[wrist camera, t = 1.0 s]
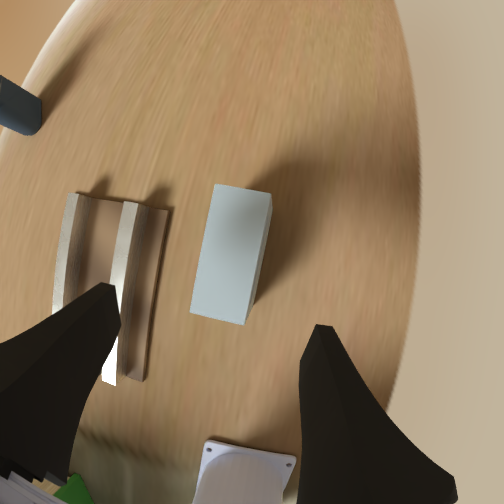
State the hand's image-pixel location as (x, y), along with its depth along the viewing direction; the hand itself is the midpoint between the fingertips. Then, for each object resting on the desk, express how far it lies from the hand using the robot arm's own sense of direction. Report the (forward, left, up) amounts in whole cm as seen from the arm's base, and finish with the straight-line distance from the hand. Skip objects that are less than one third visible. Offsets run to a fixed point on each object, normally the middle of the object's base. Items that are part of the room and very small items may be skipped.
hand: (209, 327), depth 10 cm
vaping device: (+12, +27, -11) cm, 32 cm away
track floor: (-3, +12, -11) cm, 16 cm away
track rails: (-3, +12, -11) cm, 16 cm away
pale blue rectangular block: (+2, +1, -11) cm, 12 cm away
